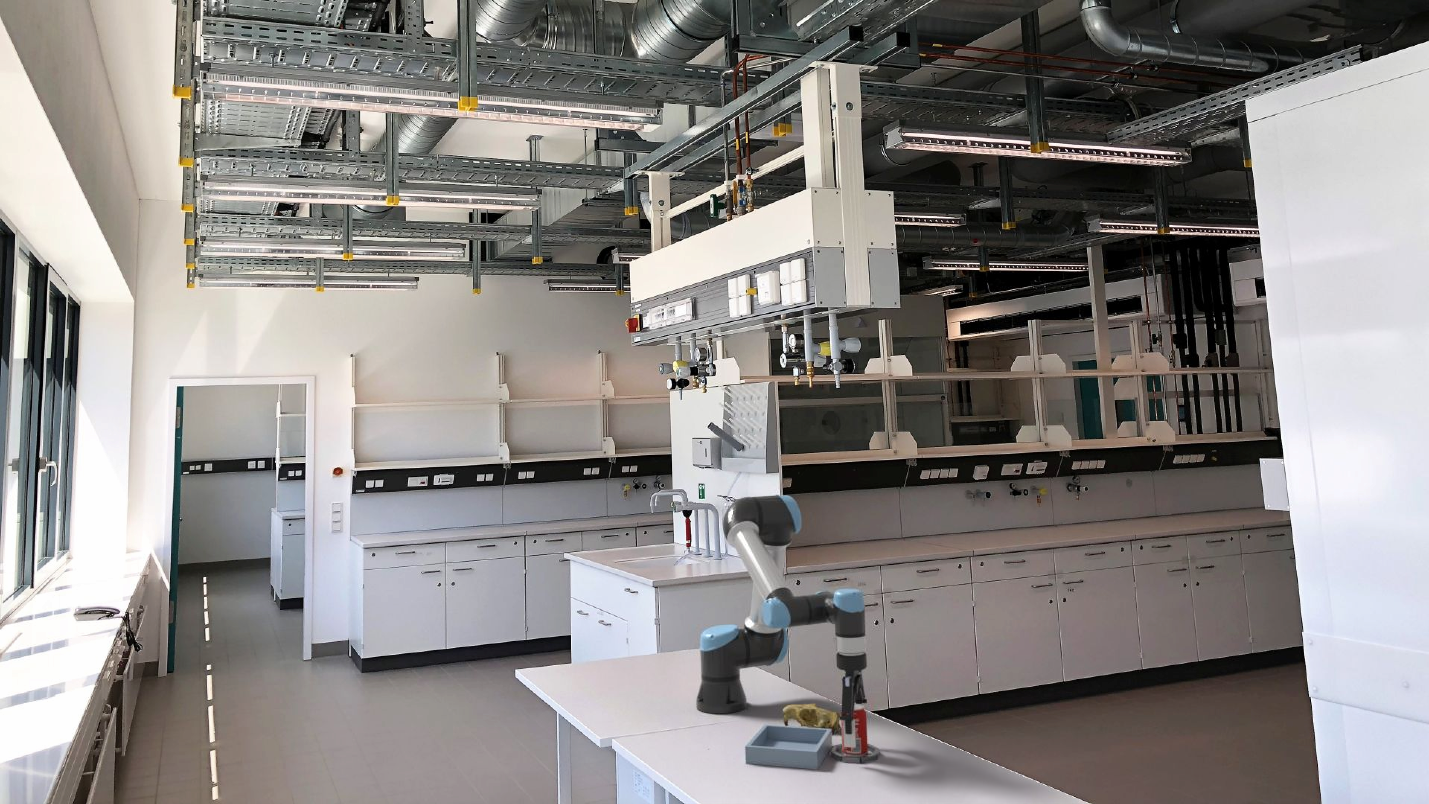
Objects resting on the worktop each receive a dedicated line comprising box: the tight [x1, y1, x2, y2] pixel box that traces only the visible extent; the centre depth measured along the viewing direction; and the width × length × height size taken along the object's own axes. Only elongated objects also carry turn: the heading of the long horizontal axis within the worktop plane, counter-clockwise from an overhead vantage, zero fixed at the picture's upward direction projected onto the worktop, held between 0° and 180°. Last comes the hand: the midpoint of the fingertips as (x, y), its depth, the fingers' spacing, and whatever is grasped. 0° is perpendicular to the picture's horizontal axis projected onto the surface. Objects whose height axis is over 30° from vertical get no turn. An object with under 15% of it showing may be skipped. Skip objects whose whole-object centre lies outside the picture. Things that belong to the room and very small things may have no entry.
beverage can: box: [840, 703, 869, 757], centre depth 232 cm, size 6×6×12 cm
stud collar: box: [830, 743, 880, 764], centre depth 232 cm, size 12×12×1 cm
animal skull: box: [782, 703, 841, 735], centre depth 254 cm, size 10×16×7 cm
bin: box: [744, 724, 833, 770], centre depth 234 cm, size 18×18×4 cm
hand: (854, 738), depth 232 cm, fingers open, 13 cm apart
